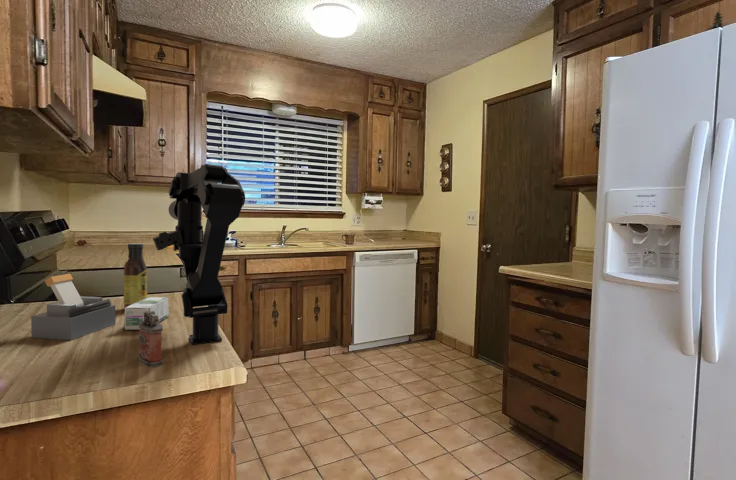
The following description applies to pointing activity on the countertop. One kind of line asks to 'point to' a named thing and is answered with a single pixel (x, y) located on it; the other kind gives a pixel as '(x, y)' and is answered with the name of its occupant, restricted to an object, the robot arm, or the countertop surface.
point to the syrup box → (137, 310)
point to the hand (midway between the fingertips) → (189, 280)
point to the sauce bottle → (135, 276)
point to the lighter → (150, 340)
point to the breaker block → (73, 319)
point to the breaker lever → (64, 289)
